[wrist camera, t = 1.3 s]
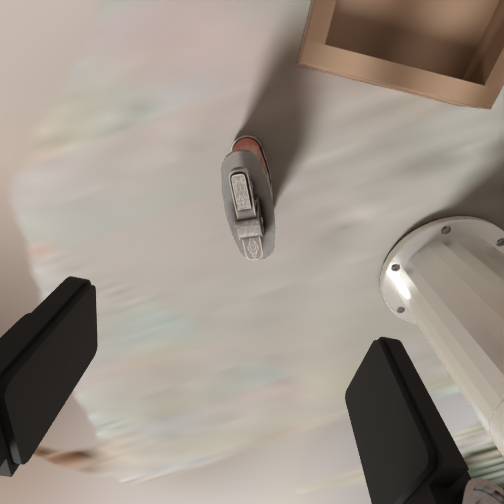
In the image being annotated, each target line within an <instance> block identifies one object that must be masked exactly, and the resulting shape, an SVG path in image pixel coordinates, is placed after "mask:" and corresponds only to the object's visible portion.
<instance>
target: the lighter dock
mask: <svg viewBox="0 0 504 504" xmlns="http://www.w3.org/2000/svg"><path fill="white" fill-rule="evenodd" d="M296 65H297V66H301V67H305V68H309V69H313V70H317V71H321V72H325V73H329V74H333V75H337V76H341V77H345V78H349V79H353V80H357V81H361V82H365V83H369V84H373V85H377V86H381V87H385V88H389V89H393V90H397V91H401V92H405V93H409V94H413V95H417V96H421V97H425V98H429V99H433V100H437V101H441V102H445V103H449V104H453V105H457V106H464V107H473V108H483V109H491V108H492V106H493V104H494V102H495V100H496V99H497V97H498V95H499V93H500V91H501V89H502V87H503V85H504V0H311V4H310V8H309V12H308V16H307V20H306V25H305V29H304V33H303V37H302V41H301V45H300V49H299V54H298V58H297V62H296Z"/></svg>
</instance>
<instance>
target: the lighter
mask: <svg viewBox="0 0 504 504" xmlns="http://www.w3.org/2000/svg"><path fill="white" fill-rule="evenodd" d="M221 172H222V193H223V199H224V206H225V212H226V216H227V219H228V222H229V225H230V229H231V232H232V235H233V237H234V239H235V241H236V243H237V246H238V248H239V250H240V252H241V253H242V254H243V256H245V257H246V258H247V259H249V260H260V259H263V258H266V257H268V256H269V255H270V254H271V253H272V252H273V250H274V245H275V217H274V205H273V191H272V178H271V174H270V169H269V165H268V161H267V158H266V155H265V152H264V149H263V146H262V144H261V142H260V140H259V139H258V138H257V137H255V136H253V135H242V136H239V137H238V138H237V139H236V140H235V141H234V143H233V145H232V148H231V153H229V154H228V155H227V156H226V158H225V160H224V161H223V163H222V168H221Z"/></svg>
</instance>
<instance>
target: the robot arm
mask: <svg viewBox="0 0 504 504" xmlns="http://www.w3.org/2000/svg"><path fill="white" fill-rule="evenodd" d="M380 288H381V293H382V296H383V298H384V300H385V302H386V303H387V305H388V307H389V308H390V310H391V311H392V312H393V313H394V314H395V315H397V316H398V317H400V318H401V319H403V320H405V321H408V322H410V323H413V324H418V325H419V327H420V328H421V330H422V332H423V333H424V335H425V336H426V338H427V339H428V341H429V342H430V344H431V346H432V347H433V349H434V350H435V352H436V353H437V355H438V357H439V358H440V360H441V361H442V363H443V364H444V366H445V367H446V369H447V371H448V372H449V374H450V375H451V377H452V378H453V380H454V381H455V383H456V385H457V386H458V388H459V389H460V391H461V392H462V394H463V395H464V397H465V398H466V400H467V401H468V403H469V405H470V406H471V408H472V409H473V411H474V413H475V414H476V416H477V417H478V419H479V420H480V422H481V423H482V425H483V427H484V428H485V430H486V431H487V433H488V434H489V436H490V438H491V439H492V441H493V442H494V443H495V445H496V446H497V448H498V450H499V451H500V453H501V454H502V456H503V457H504V231H503V230H502V229H500V228H499V227H497V226H496V225H494V224H492V223H490V222H488V221H486V220H484V219H480V218H476V217H471V216H454V217H447V218H442V219H439V220H435V221H432V222H429V223H427V224H425V225H423V226H421V227H419V228H417V229H416V230H414V231H413V232H411V233H409V234H408V235H406V236H405V237H404V238H403V239H402V240H401V241H400V242H399V243H398V244H397V245H396V246H395V247H394V248H393V250H392V251H391V252H390V253H389V255H388V257H387V259H386V260H385V262H384V264H383V267H382V271H381V274H380ZM96 351H97V315H96V288H95V286H94V285H91V282H90V280H87V279H82V278H77V277H72V276H70V277H68V278H66V279H65V280H64V281H63V282H62V283H61V284H60V285H59V286H58V287H57V288H56V289H55V290H54V291H53V292H52V293H51V294H50V295H49V296H48V297H47V298H46V299H45V300H44V301H43V302H42V303H41V304H40V305H39V306H38V307H37V308H36V309H35V310H34V311H33V312H32V313H28V314H26V315H24V316H23V317H22V318H21V319H20V320H19V321H18V322H16V323H15V324H14V325H13V326H12V327H11V328H10V329H9V330H8V331H7V332H6V333H5V334H4V335H3V336H2V337H1V338H0V475H1V476H9V477H12V475H13V474H14V472H15V471H16V469H17V468H18V466H19V465H20V464H25V463H27V462H28V461H29V459H30V458H31V456H32V455H33V453H34V452H35V450H36V448H37V447H38V445H39V444H40V442H41V440H42V439H43V437H44V436H45V434H46V433H47V431H48V429H49V428H50V426H51V425H52V423H53V421H54V420H55V418H56V417H57V415H58V413H59V412H60V410H61V409H62V407H63V405H64V404H65V402H66V401H67V399H68V397H69V396H70V394H71V393H72V391H73V389H74V388H75V386H76V385H77V383H78V382H79V380H80V378H81V377H82V375H83V374H84V372H85V370H86V369H87V367H88V366H89V364H90V362H91V361H92V359H93V358H94V356H95V353H96ZM345 400H346V405H347V409H348V413H349V416H350V420H351V424H352V428H353V432H354V436H355V440H356V444H357V448H358V451H359V455H360V459H361V463H362V467H363V471H364V475H365V479H366V483H367V486H368V490H369V494H370V498H371V502H372V504H504V491H503V490H502V489H501V488H499V487H498V486H496V485H495V484H493V483H492V482H489V481H487V480H484V479H480V478H473V479H471V477H470V475H469V474H468V472H467V471H468V470H469V468H468V466H467V465H466V463H465V461H464V459H463V457H462V455H461V453H460V451H459V450H458V448H457V446H456V444H455V442H454V440H453V438H452V436H451V435H450V433H449V431H448V429H447V427H446V425H445V423H444V421H443V420H442V418H441V416H440V414H439V412H438V410H437V409H436V406H435V405H434V403H433V401H432V399H431V397H430V395H429V393H428V391H427V389H426V388H425V386H424V384H423V382H422V380H421V378H420V376H419V374H418V373H417V371H416V369H415V367H414V365H413V363H412V361H411V359H410V358H409V356H408V354H407V352H406V350H405V348H404V346H403V344H402V343H401V341H399V340H397V339H392V338H386V337H380V338H379V339H378V340H375V341H373V343H372V345H371V346H370V348H369V350H368V352H367V354H366V356H365V357H364V359H363V361H362V363H361V365H360V366H359V368H358V370H357V372H356V374H355V376H354V377H353V379H352V381H351V383H350V385H349V387H348V388H347V390H346V394H345Z"/></svg>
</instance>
